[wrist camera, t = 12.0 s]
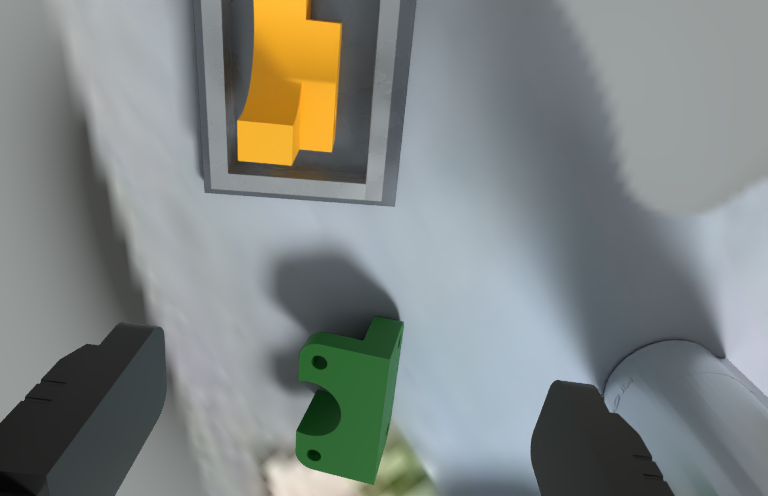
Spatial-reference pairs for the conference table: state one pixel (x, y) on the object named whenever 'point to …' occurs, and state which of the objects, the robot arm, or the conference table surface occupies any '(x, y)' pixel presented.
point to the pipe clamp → (290, 84)
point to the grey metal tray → (354, 104)
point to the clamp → (349, 400)
